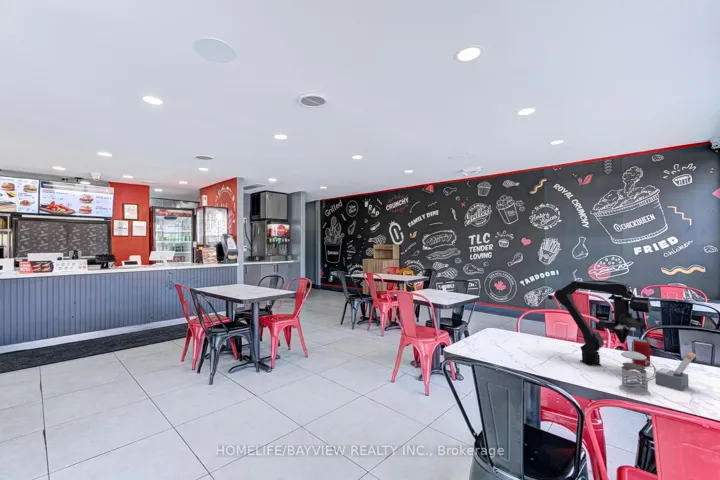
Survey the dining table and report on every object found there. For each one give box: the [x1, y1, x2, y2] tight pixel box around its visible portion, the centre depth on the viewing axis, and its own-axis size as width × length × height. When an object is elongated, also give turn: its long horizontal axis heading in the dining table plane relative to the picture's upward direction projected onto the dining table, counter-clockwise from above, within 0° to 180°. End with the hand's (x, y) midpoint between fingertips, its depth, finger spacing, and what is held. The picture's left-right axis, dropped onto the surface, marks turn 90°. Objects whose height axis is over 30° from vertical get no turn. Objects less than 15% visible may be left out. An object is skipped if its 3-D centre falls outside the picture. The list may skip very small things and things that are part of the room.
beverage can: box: [631, 338, 651, 367], centre depth 159 cm, size 7×7×12 cm
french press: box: [618, 328, 657, 396], centre depth 129 cm, size 10×12×25 cm
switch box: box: [654, 367, 690, 392], centre depth 134 cm, size 8×9×6 cm
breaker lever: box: [674, 351, 697, 374], centre depth 131 cm, size 2×5×10 cm, turn 121°
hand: (622, 343), depth 150 cm, fingers closed
